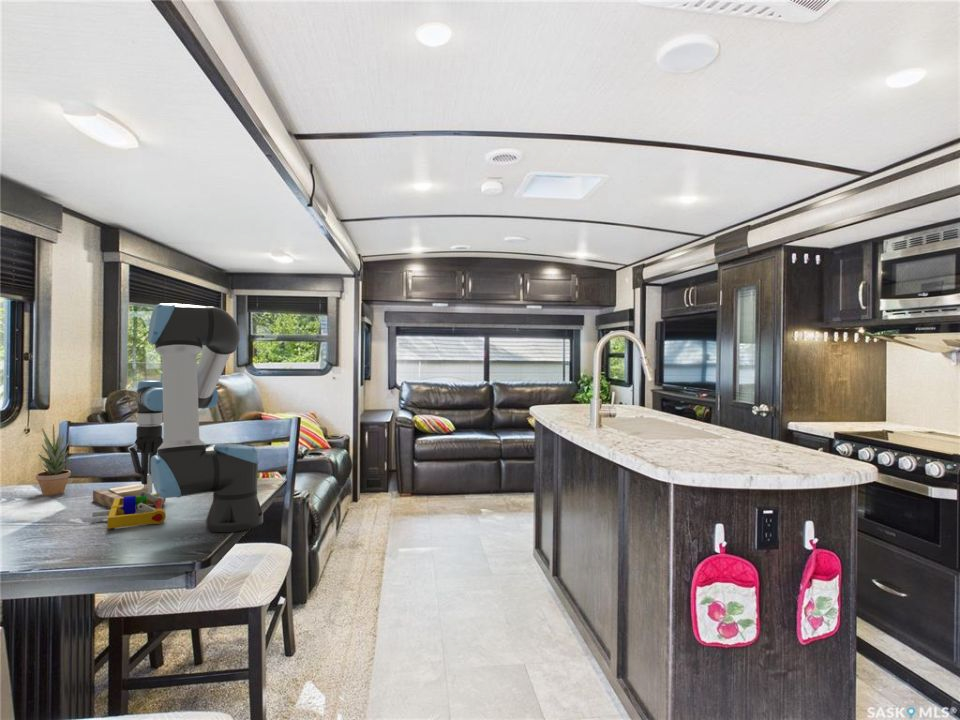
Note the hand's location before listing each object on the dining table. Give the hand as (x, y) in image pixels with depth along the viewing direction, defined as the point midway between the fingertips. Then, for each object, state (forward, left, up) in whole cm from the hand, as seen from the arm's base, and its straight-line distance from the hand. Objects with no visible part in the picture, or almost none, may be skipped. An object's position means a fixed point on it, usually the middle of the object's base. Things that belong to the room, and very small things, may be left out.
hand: (148, 493), depth 180 cm
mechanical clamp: (-19, +13, -2) cm, 23 cm away
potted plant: (+31, +18, -2) cm, 35 cm away
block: (+2, +5, -2) cm, 6 cm away
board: (0, +12, -1) cm, 12 cm away
